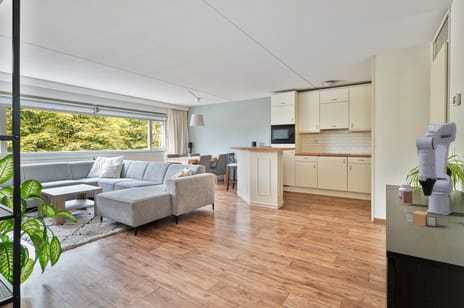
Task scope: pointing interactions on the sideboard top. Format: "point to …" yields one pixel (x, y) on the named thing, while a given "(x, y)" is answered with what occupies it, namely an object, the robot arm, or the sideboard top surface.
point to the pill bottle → (405, 194)
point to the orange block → (420, 218)
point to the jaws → (430, 220)
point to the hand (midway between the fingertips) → (427, 195)
